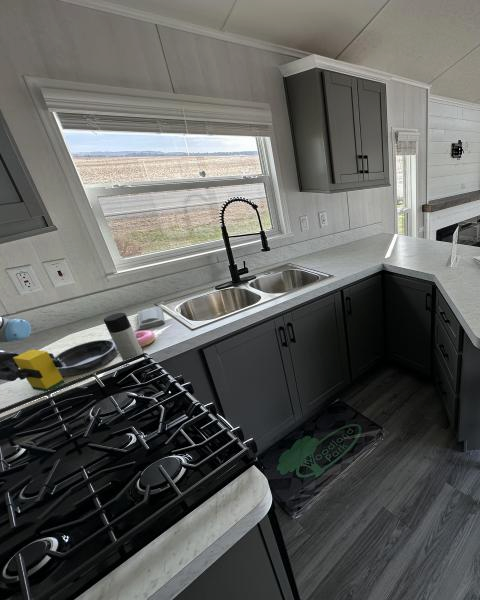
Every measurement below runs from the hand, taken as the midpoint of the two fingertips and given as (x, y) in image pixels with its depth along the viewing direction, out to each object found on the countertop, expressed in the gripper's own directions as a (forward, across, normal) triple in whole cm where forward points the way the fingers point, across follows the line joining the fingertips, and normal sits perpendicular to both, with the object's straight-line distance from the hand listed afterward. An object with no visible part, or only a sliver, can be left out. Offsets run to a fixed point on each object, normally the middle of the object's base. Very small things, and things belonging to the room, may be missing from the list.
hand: (49, 369), depth 108 cm
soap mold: (-18, -50, -10) cm, 54 cm away
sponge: (-5, 0, -8) cm, 9 cm away
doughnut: (-2, -31, -10) cm, 33 cm away
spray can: (+7, -20, -10) cm, 24 cm away
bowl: (-12, -16, -10) cm, 22 cm away
